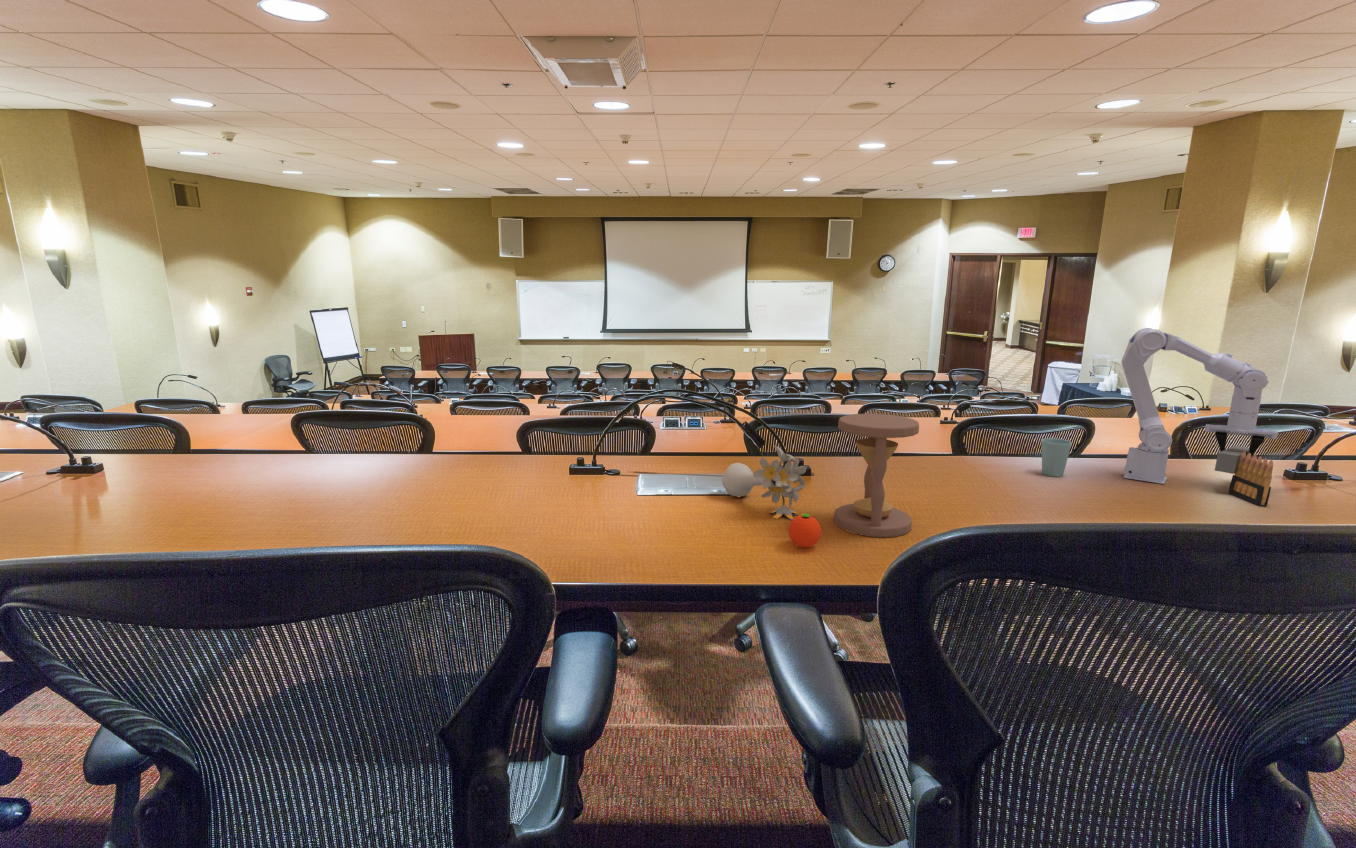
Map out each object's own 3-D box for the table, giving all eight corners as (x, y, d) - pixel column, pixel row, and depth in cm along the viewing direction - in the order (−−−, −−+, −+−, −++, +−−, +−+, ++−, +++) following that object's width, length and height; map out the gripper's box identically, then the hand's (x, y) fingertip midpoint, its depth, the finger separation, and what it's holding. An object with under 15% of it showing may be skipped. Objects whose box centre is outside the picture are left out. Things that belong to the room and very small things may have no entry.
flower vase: (724, 522, 162) (787, 527, 141) (704, 458, 161) (764, 452, 139) (759, 504, 169) (824, 506, 148) (740, 442, 168) (803, 435, 146)
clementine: (790, 537, 134) (791, 506, 133) (821, 540, 132) (823, 509, 131) (785, 550, 127) (787, 519, 125) (819, 554, 125) (820, 522, 123)
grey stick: (1214, 470, 163) (1218, 452, 162) (1231, 462, 174) (1235, 445, 173) (1233, 474, 160) (1237, 455, 159) (1250, 465, 171) (1254, 448, 170)
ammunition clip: (1267, 506, 153) (1278, 461, 150) (1259, 505, 153) (1270, 460, 150) (1235, 492, 163) (1245, 450, 160) (1227, 492, 163) (1238, 449, 161)
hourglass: (839, 507, 153) (844, 411, 148) (912, 516, 147) (920, 416, 142) (828, 531, 137) (833, 424, 132) (909, 542, 131) (918, 430, 126)
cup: (1056, 470, 186) (1060, 437, 184) (1073, 477, 178) (1077, 443, 176) (1032, 471, 186) (1036, 438, 183) (1048, 478, 178) (1052, 444, 176)
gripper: (1207, 411, 166) (1199, 458, 168) (1281, 417, 156) (1271, 468, 159) (1209, 407, 171) (1201, 454, 173) (1280, 413, 161) (1270, 462, 164)
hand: (1234, 460), depth 166 cm, fingers closed on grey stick, 5 cm apart
